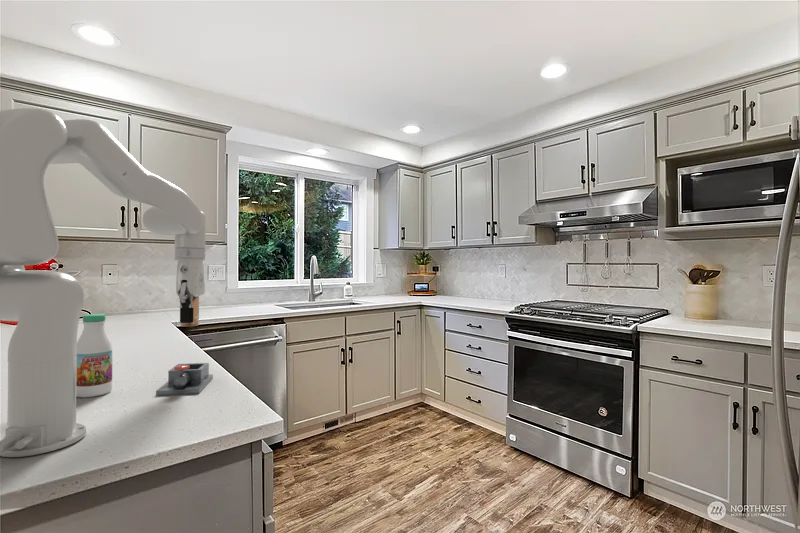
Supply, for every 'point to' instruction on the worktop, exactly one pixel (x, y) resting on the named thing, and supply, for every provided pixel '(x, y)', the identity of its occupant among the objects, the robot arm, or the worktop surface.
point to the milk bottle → (94, 358)
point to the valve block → (186, 379)
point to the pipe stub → (194, 313)
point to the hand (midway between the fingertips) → (189, 320)
